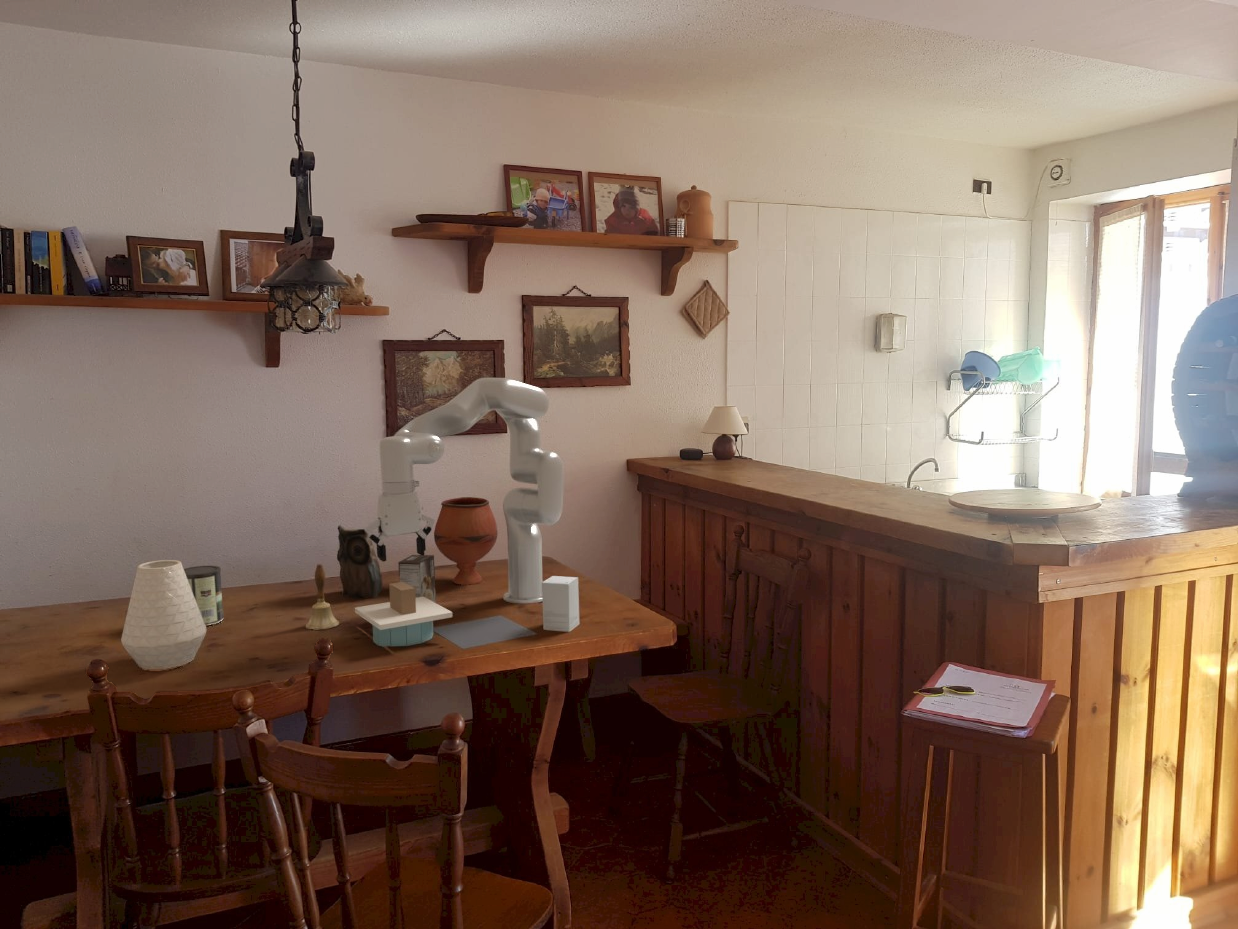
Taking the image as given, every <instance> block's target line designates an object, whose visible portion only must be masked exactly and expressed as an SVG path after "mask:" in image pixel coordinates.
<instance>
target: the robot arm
mask: <svg viewBox="0 0 1238 929" xmlns="http://www.w3.org/2000/svg"><path fill="white" fill-rule="evenodd" d="M549 408H550V400H549V397H548V395H547V393H546V392H545V391H544V390H543V389H542V388H540V387H539V386H534V385H531V384H527V383H524V382H521V381H518V380H515V379H512V378H509V377H507V378H506V377H481V378H478V379H476V380H474V381H473V382H471V384H469V385H467V386H466V387H465V388H464V389H463V390H462V391H461V392H460V393H458V394H457V395H456V396H455V397H453V398H452V399H451V400H450V401H449V402H447V403H445V404H444V405H441V406H438V407H436V408H434V409H432V410H430V411H428V412H425V413H423V414H420V415H418V416H417V417H415V418H413V419H412V420H409V422H407V423H406V424H405V425H403V426H402V427H401V428H400V429H398V431H396V432H395V433H394V435H393V436H387V437H383V438H381V439H380V441H379V460H380V461H379V462H380V477H381V493H380V494H379V495H378V497H377V498H378V499H377V508H376V520H375V521H373V522H371V523H370V524H368V525H367V526H366V527H364V528H363V529H364V530H365V532H366V533H367V535H368V536H369V538H370V539H371V541H372V543H374V544H376V557H377V559H379V560H380V561H381V562H383V563H385V562H386V561H387V549H386V548H387V547H386V545H385V544H384V543H385V542H386V540H387V539H388V538H389V537H396V536H403V535H409V534H415V535H417V537H416V539H415V540H416V543H415V544H416V553H417V555H425V551H427V550H426V549H427V548H426V539H427V537H428V535H429V534H430V533H431V531H432V529H433V526H434V524H435V522H436V521H435V519H434V518H431V517H429V516H426V515H424V514H422V510H421V504H420V500H419V497H418V493H417V491H416V488H417V487H420V481H419V480H415V479H414V465H429V464H430V465H431V464H434V463H436V462H438V461H439V460H441V459H442V456H443V455H444V452H445V445H444V444H445V443H444V442H443V441H442V439H441V438H444V437H448V436H452V435H457V434H461V433H464V432H466V431H468V430H470V429H471V428H472V427H473V426H474V425H475V424H476V423H477V422H479V421H480V420H481V419H482V418H484V417H485V416H486V415H487V414H488V413H489V412H491V411H495V412H496V413H497V414H498V415H499V416H500V417H501V418H502V419H503V421H504V422H505V423H506V426H507V427H508V430H509V440H510V443H509V474H510V477H511V478H512V480H513V481H514V482H518V483H522V484H531V485H537V488H531V487H530V488H529V487H515V488H512V489H511V490H509V491H507V493H506V494H505V496H504V498H503V502H502V508H503V509H502V510H503V515H504V518H505V524H506V533H507V566H508V567H507V573H508V591H506V592H505V593H504V594H503V595H502V596H503V601H505V602H508V603H510V604H511V603H512V604H522V605H523V604H535V603H543V602H542V582H544V581H545V580H543V551H542V550H543V549H542V547H543V546H542V545H543V544H542V543H543V542H542V540H543V539H542V534H541V533H542V532H541V530H540V528H539V525H543V526H551V525H554V524H556V523H557V522H558V521H559V520H560V518H561V515H562V514H563V508H564V488H565V487H564V486H565V468H564V462H563V460H562V459H561V457H560V456H559V454H557V453H556V452H555V451H551V450H542V439H541V438H542V437H541V435H542V432H541V428H540V425H539V422H538V421H537V419H540V418H541V419H542V417H544V416H545V415H546V414H547V413H548V410H549ZM423 521H424V522H426V524H425V526H424V527H423ZM375 529H376V531H377V533H378V535H376V534H375V533H374V530H375Z"/></svg>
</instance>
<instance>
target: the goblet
mask: <svg viewBox="0 0 1238 929" xmlns="http://www.w3.org/2000/svg"><path fill="white" fill-rule="evenodd" d="M440 505H441V508H440V512H439V514H438V516H437V519H436V523H435V527H434V531H433V538H434V543H435V546H436V547H437V550H438V551H439V552H440V553H441V554H442V555H443V556H444V557H445V558H447V560H449V561H452V562H453V563H456V566H455V567H456V568H458V570H459V571H458V573H457V574H456V575H455V577H454V578H453V580H452V582H453V583H454V584H457V585H460V584H461V585H462V586H465V585H467V586H469V584H471V585H475V584H478V583H479V584H480V583H481V582H482V581H483V579H482V576H481V575H480V573H478V572H477V571H476V569H475V567H476V566H477V563H476V562H478V561H479V560H481V559H483V558H484V557H485V556H486V555H488V553H490V552H491V550H492V549H493V548H494V546H495V544H496V543H497V538H498V534H499V533H498V525H497V521H496V518H495V515H494V513H493V510H492V508H491V506H490V502H489V500H488V499H486V498H483V497H481V498H480V497H474V496H473V497H471V496H467V497H466V496H464V497H463V496H462V497H455V498H449V499H446V500H445V499H444V500H443V501H442V502H441V504H440Z"/></svg>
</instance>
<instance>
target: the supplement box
mask: <svg viewBox="0 0 1238 929" xmlns="http://www.w3.org/2000/svg"><path fill="white" fill-rule="evenodd" d="M543 581H544V582H542V602H541V603H542V622H543V623H542V624H543V628H542V629H543V631H544V630H546V631H555V632H565V633H566V632H568V633H569V632H571V631H572V630H574V629H575V628H577V627H578V626H579V625H580V600H579V594H580V590H579V577H575V576H560V575H559V576H558V575H551V576H550V577H549V578H547V579H545V580H543Z"/></svg>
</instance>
